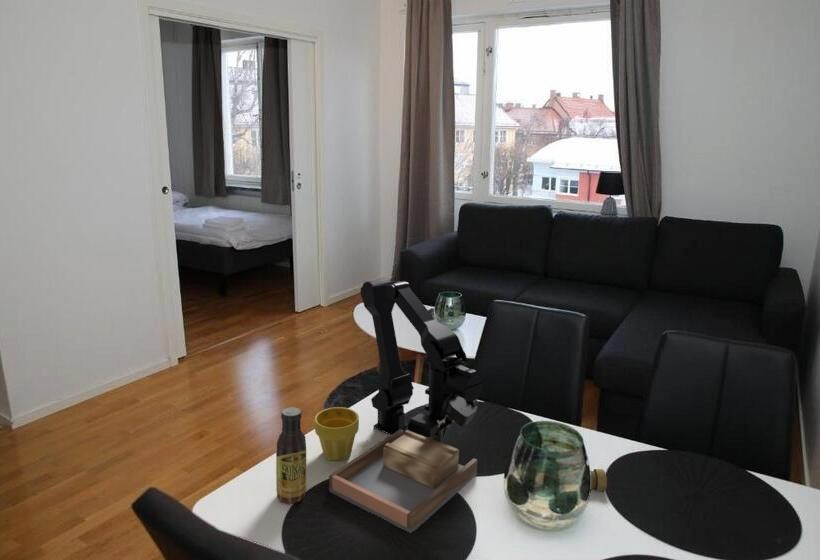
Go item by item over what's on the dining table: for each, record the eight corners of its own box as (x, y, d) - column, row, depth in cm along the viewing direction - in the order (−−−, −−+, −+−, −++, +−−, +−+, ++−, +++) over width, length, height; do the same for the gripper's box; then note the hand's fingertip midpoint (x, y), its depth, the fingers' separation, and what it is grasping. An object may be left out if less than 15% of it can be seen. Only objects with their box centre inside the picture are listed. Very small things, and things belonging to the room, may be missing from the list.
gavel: (544, 430, 149) (585, 432, 148) (543, 447, 150) (583, 449, 149) (560, 474, 128) (607, 476, 128) (559, 493, 129) (606, 495, 128)
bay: (329, 491, 128) (328, 475, 127) (400, 443, 147) (400, 429, 146) (410, 533, 115) (411, 516, 114) (476, 475, 134) (477, 459, 133)
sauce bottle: (281, 509, 122) (277, 421, 117) (273, 492, 127) (269, 408, 122) (311, 500, 125) (309, 415, 119) (302, 484, 130) (299, 402, 125)
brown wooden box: (383, 465, 136) (383, 445, 134) (409, 447, 143) (409, 428, 142) (433, 488, 127) (434, 467, 126) (458, 467, 135) (459, 448, 134)
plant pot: (335, 471, 135) (335, 432, 133) (306, 454, 142) (305, 417, 139) (367, 452, 143) (367, 416, 140) (338, 437, 149) (338, 402, 147)
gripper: (448, 410, 125) (446, 475, 129) (491, 381, 139) (488, 440, 143) (406, 396, 131) (405, 458, 135) (451, 369, 146) (449, 426, 150)
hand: (439, 445), depth 141 cm, fingers closed
